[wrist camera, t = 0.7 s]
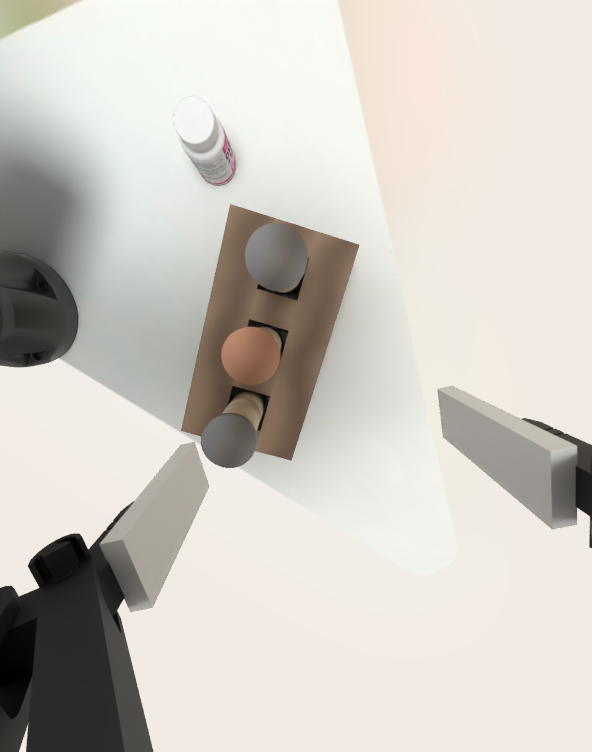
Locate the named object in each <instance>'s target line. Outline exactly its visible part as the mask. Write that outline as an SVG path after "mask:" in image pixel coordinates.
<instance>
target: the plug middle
mask: <svg viewBox="0 0 592 752" xmlns="http://www.w3.org/2000/svg"><path fill="white" fill-rule="evenodd" d="M282 345H283V339H282V336H281V334H280V332H279V331H278V330H277V329H275V328H274V327H271V326H261V327H245V328H241V329H238V330H236V331H234V332H233V333H232V334H230V335H229V336H228V338H227V339H226V340H225V342H224V344H223V347H222V352H221V358H222V363H223V366H224V368H225V370H226V372H227V373H228V374H229V375H230V377H232V378H233V379H234V380H236V381H237V382H239V383H242V384H246V385H257V384H261V383H263V382H265V381H267V380H269V379H270V378H271V377H272V376H273V375H274V373H275V372H276V370H277V368H278V365H279V363H280V356H281V354H280V351H281V348H282Z"/></svg>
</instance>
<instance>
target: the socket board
mask: <svg viewBox="0 0 592 752" xmlns="http://www.w3.org/2000/svg"><path fill="white" fill-rule="evenodd" d="M269 223H282V224H286V225H288V226H290V227H292V228H293V229H295V230H296V231H297V232H298V233H299V234H300V235H301V237H302V238H303V240H304V242H305V244H306V248H307V253H308V260H307V266H306V272H305V275H304V279H303V282H302V286H301V289H300V293H299V296H298V300H297V301H296V300H293V299H290V298H286V297H283V296H280V295H276V294H273V293H270V292H266V288H264V287H262V286H261V285H260V284H258V283H257V282H256V281H255V280H254V279H253V278H252V277H251V275H250V273H249V272H248V269H247V266H246V262H245V249H246V245H247V242H248V240H249V238H250V237H251V235H252V234H253V233H254V232H255V231H256V230H257V229H258V228H260V227H262V226H263V225H266V224H269ZM358 248H359V245H358V244H355V243H352V242H349V241H345V240H342V239H339V238H336V237H333V236H330V235H326V234H323V233H320V232H317V231H314V230H310V229H307V228H304V227H301V226H298V225H295V224H291V223H288V222H285V221H282V220H279V219H276V218H272V217H269V216H266V215H263V214H260V213H257V212H253V211H250V210H247V209H244V208H241V207H237V206H234V205H231V204H230V208H229V213H228V218H227V222H226V227H225V231H224V236H223V241H222V245H221V250H220V254H219V259H218V264H217V268H216V273H215V277H214V282H213V287H212V291H211V296H210V300H209V305H208V310H207V314H206V319H205V323H204V328H203V333H202V337H201V342H200V346H199V351H198V356H197V360H196V365H195V370H194V374H193V379H192V383H191V388H190V393H189V397H188V402H187V406H186V411H185V416H184V420H183V425H182V429H181V431H184V432H188V433H191V434H195V435H199V436H202V433H203V431H204V429H205V428H206V426H207V425H208V424H209V423H210V421H211V420H212V419H213V418H215V417H216V416H218V415H220V414H222V413H223V412H224V410H225V409H226V408H227V406H228V405H229V404H230V402H231V401H232V400H233V398H234V397H235V396H236V394H237V393H238V392H239V391H240V389H241V388H242V389H246V390H250V391H253V392H257V393H260V394H264V395H267V396H270V399H269V403H268V406H267V409H264V411H263V414H262V417H261V420H260V423H259V426H258V428H257V431H256V432H257V444H256V447H255V450H254V451H258V452H262V453H266V454H269V455H273V456H277V457H280V458H284V459H288V460H292V457H293V454H294V451H295V447H296V444H297V441H298V438H299V435H300V432H301V428H302V425H303V422H304V419H305V416H306V413H307V409H308V406H309V403H310V400H311V397H312V394H313V390H314V387H315V384H316V381H317V378H318V375H319V371H320V368H321V365H322V362H323V359H324V356H325V352H326V349H327V346H328V343H329V340H330V337H331V333H332V330H333V327H334V324H335V321H336V318H337V314H338V311H339V308H340V305H341V302H342V299H343V295H344V292H345V289H346V286H347V283H348V280H349V276H350V273H351V270H352V267H353V264H354V261H355V257H356V254H357V251H358ZM258 322H261V323H264V324H268V325H271V326H274V327H278V328H281V329H285V330H288V331H289V332H288V335H287V339H286V342H285V346H284V349H283V353H282V356H281V358H280V363H279V365H278V368H277V370H276V372H275V373H274V375H273V376H272V377H271V378H270V379H269V380H267V381H265V382H263V383H261V384H257V385H246V384H242V383H239V382H237V381H236V380H234V379H233V378H232V377H230V375H229V374H228V373H227V372H226V370H225V368H224V366H223V363H222V358H221V352H222V347H223V344H224V342H225V340H226V339H227V338H228V336H229V335H230V334H232V333H233V332H234V331H236V330H238V329H241V328H245V327H257V323H258Z"/></svg>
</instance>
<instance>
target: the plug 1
mask: <svg viewBox="0 0 592 752" xmlns="http://www.w3.org/2000/svg"><path fill="white" fill-rule="evenodd" d="M265 406H266V397H265V395H264V394H260V393H257V392H253V391H250V390H246V389H241V390H240V391H239V392H238V393H237V394H236V396H235V397H234V398H233V400H232V401H231V402H230V404H229V405H228V406H227V408H226V409H225V410H224V412H223V413H222V414H220V415H218V416H216V417H215V418H213V419H212V420H211V421H210V423H209V424H208V425H207V426H206V428H205V429H204V431H203V433H202V436H201V446H202V450H203V452H204V454H205V455H206V457H207V458H208V459H209V460H210V461H211V462H213V463H214V464H216V465H219V466H221V467H225V468H234V467H238V466H241V465H243V464H245V463H246V462H247V461H248V460H249V459H250V458H251V457H252V455H253V453H254V450H255V447H256V444H257V432H256V431H257V428H258V426H259V423H260V420H261V417H262V414H263V411H264V409H265Z"/></svg>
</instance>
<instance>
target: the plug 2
mask: <svg viewBox="0 0 592 752" xmlns="http://www.w3.org/2000/svg"><path fill="white" fill-rule="evenodd" d="M307 260H308V253H307V248H306V244H305V242H304V240H303V238H302V237H301V235H300V234H299V233H298V232H297V231H296V230H295V229H293V228H292V227H290V226H288V225H286V224H282V223H269V224H266V225H263V226H262V227H260V228H258V229H257V230H256V231H255V232H254V233H253V234H252V235H251V237H250V238H249V240H248V242H247V245H246V249H245V262H246V266H247V269H248V272H249V273H250V275H251V277H252V278H253V279H254V280H255V281H256V282H257V283H258V284H260V285H261V286H262V287H264V288H266V289H269V290H273V291H275V292H277V293H279V294H290V293H292V292H294V291H295V290H296V289H297V288H298V286H299V284H300V281H301V278H302V277H303V275H304V273H305V270H306V266H307Z"/></svg>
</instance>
